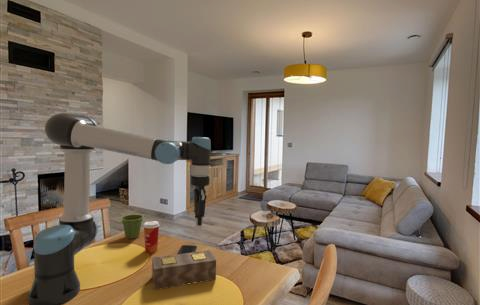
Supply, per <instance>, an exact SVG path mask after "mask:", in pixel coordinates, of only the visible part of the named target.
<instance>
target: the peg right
mask: <svg viewBox="0 0 480 305" xmlns="http://www.w3.org/2000/svg"><path fill="white" fill-rule="evenodd" d="M192 259H193V261H196V260H203V259H206V257H205V255H204V253H200V254H193V255H192Z"/></svg>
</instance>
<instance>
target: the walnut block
mask: <svg viewBox="0 0 480 305" xmlns="http://www.w3.org/2000/svg"><path fill="white" fill-rule="evenodd" d="M200 253H204V255H205V257H206V259H203V260H196V261H193V259H192V255H193V254H200ZM170 257H175V260H176V263H174V264H167V265H162V259H163V258H170ZM151 260H152V261H151V262H152V264H151V273H152V274H151V275H152V276H151V277H152V278H151V280H152V285H153V286H152V287H153V290H154V291H155V289H157V290H161V289H160V288H162V289H167V288H166V287H168V288H172V287H171V286H174V287H179V286H178V285H180V286H183V285H182V284H186V285H189V284H188V283H191V284H195V283H194V282H197V283H201V282H200V281H203V282H207V281H206V280H209V281H213V280H212V279H215V280H216V279H217V259H216V258H215V256H214V254H213V252H212V251H211V250H210V249H208V250H207V249H206V250H200V251H195V252H192V253H184V254H169V255H163V256H154V257H152V259H151Z"/></svg>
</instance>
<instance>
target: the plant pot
mask: <svg viewBox="0 0 480 305" xmlns="http://www.w3.org/2000/svg"><path fill="white" fill-rule="evenodd" d="M144 217H145V216H144V215H143V214H136V213H135V214H134V213H133V214H126V215H123V216H122V217H120V220H121V221H122V225H123V230H124V237H125V238H126V239H128V240H129V239H137V238H139V237H140V234H141V227H142V223H143V219H144Z"/></svg>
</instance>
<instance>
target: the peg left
mask: <svg viewBox="0 0 480 305" xmlns="http://www.w3.org/2000/svg"><path fill="white" fill-rule="evenodd" d="M174 263H176V260H175V257H170V258H163V259H162V265H167V264H174Z"/></svg>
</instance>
